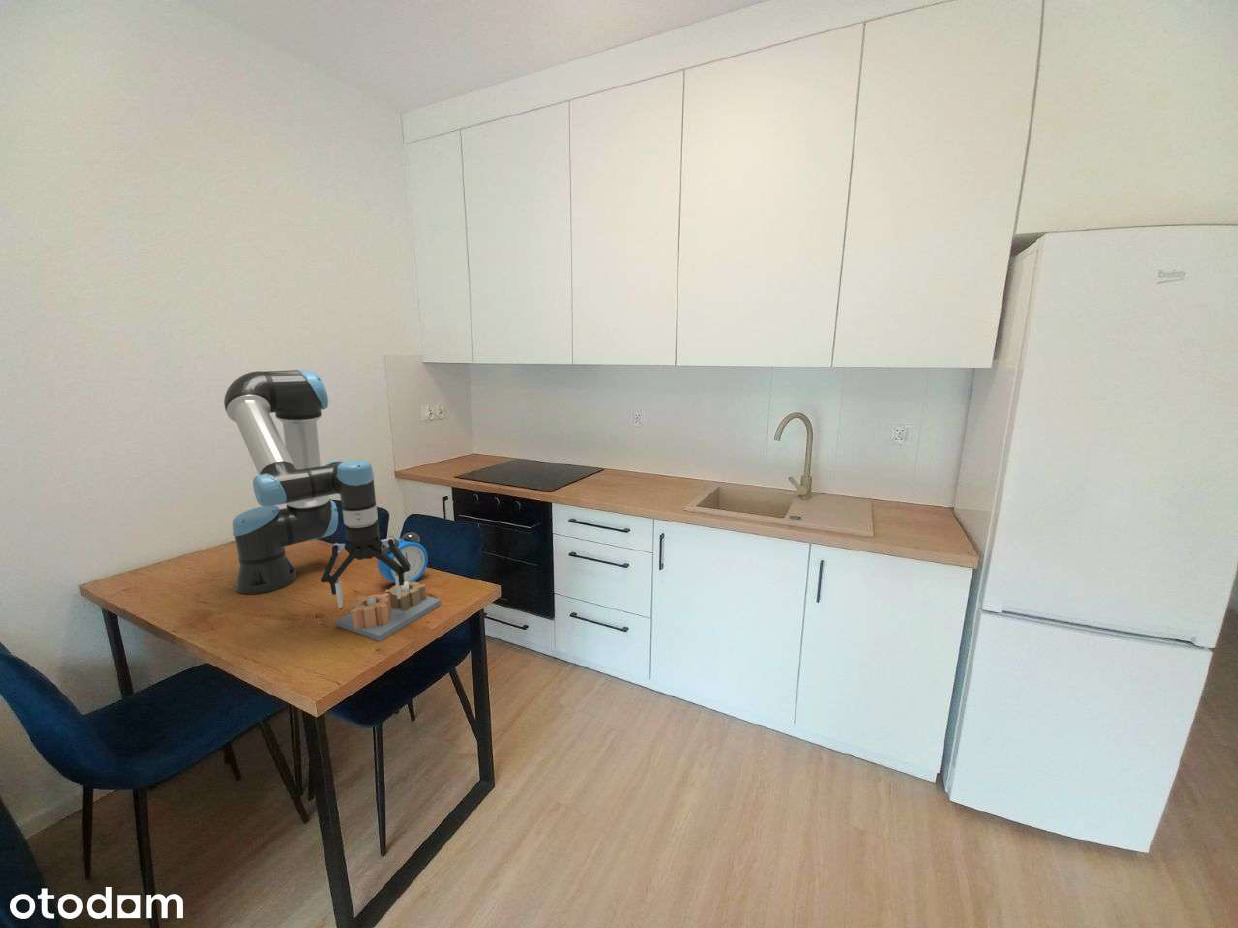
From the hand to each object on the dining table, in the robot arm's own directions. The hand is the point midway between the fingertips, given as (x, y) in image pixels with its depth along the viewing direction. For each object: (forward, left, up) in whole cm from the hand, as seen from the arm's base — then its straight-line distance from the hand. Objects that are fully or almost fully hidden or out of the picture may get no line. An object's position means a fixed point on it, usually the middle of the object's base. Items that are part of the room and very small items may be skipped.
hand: (370, 600), depth 126 cm
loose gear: (0, 0, -5) cm, 5 cm away
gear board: (0, +5, -6) cm, 8 cm away
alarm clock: (-13, +21, -7) cm, 26 cm away
